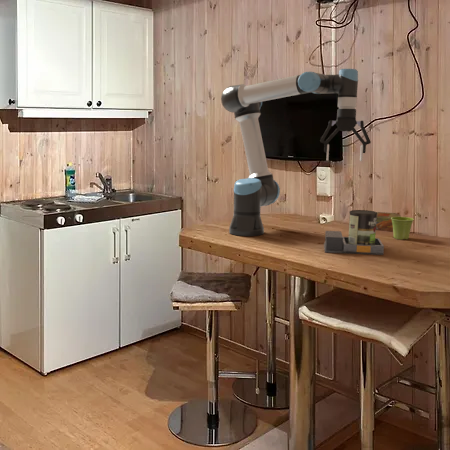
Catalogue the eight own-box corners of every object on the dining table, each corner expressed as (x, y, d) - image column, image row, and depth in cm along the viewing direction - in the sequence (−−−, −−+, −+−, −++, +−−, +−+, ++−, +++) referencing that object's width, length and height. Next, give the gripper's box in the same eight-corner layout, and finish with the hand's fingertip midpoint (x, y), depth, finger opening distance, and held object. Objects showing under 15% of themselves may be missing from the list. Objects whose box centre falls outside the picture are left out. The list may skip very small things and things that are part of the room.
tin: (368, 229, 270) (369, 211, 269) (369, 228, 273) (370, 210, 272) (402, 232, 265) (403, 213, 263) (402, 231, 268) (404, 212, 266)
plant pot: (409, 241, 244) (410, 221, 242) (386, 238, 248) (388, 218, 247) (415, 238, 251) (416, 218, 250) (393, 235, 256) (394, 215, 255)
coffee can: (379, 247, 226) (381, 211, 224) (368, 252, 218) (370, 214, 216) (354, 244, 232) (356, 208, 230) (343, 248, 224) (344, 211, 222)
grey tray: (324, 252, 220) (325, 237, 219) (323, 244, 234) (324, 230, 233) (383, 255, 217) (384, 239, 216) (378, 247, 231) (379, 232, 230)
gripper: (377, 108, 239) (374, 161, 243) (315, 108, 242) (313, 159, 246) (379, 108, 232) (376, 162, 236) (315, 107, 235) (313, 160, 239)
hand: (344, 160), depth 241 cm, fingers open, 13 cm apart
